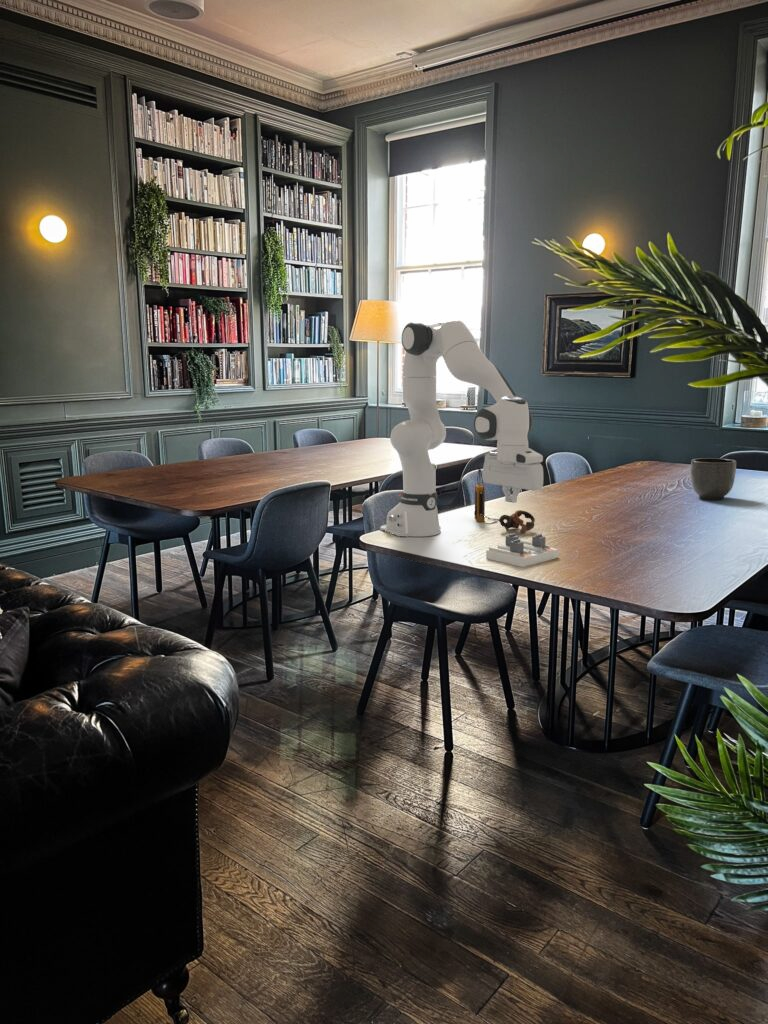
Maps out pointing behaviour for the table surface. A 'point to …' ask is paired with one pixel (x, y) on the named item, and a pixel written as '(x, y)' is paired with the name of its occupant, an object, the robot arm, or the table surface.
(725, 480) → the planter
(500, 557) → the switch board
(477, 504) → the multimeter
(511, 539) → the tab middle
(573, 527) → the table surface
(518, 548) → the tab
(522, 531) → the brown curved ring piece
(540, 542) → the tab
